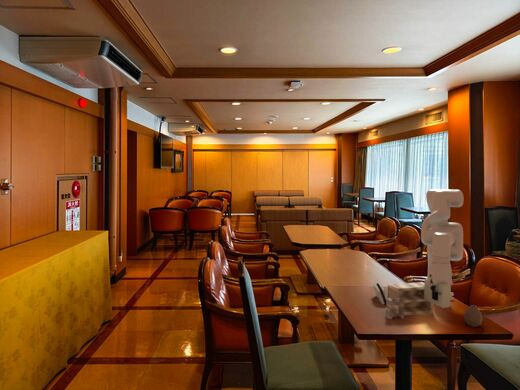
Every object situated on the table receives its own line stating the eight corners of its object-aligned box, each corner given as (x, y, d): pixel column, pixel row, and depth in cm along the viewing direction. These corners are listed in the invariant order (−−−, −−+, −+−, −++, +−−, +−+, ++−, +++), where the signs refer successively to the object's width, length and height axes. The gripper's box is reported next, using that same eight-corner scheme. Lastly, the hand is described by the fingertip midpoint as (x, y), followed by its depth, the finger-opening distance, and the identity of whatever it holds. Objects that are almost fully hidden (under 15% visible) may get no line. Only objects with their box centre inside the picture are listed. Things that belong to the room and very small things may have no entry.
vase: (481, 329, 165) (482, 309, 164) (463, 326, 168) (464, 306, 168) (482, 324, 170) (482, 305, 170) (464, 321, 174) (465, 302, 174)
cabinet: (421, 307, 193) (422, 282, 192) (437, 315, 182) (438, 288, 181) (376, 311, 185) (376, 284, 185) (390, 319, 174) (391, 291, 174)
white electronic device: (392, 305, 195) (386, 286, 196) (383, 307, 196) (377, 289, 196) (385, 296, 212) (379, 278, 212) (377, 298, 213) (371, 281, 213)
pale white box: (430, 298, 183) (431, 277, 182) (450, 307, 171) (450, 285, 171) (422, 299, 181) (423, 278, 181) (441, 307, 170) (441, 285, 169)
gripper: (449, 257, 180) (447, 295, 181) (419, 258, 175) (418, 298, 176) (461, 260, 173) (460, 300, 174) (431, 262, 168) (429, 303, 169)
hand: (439, 298), depth 175 cm, fingers closed on pale white box, 4 cm apart
